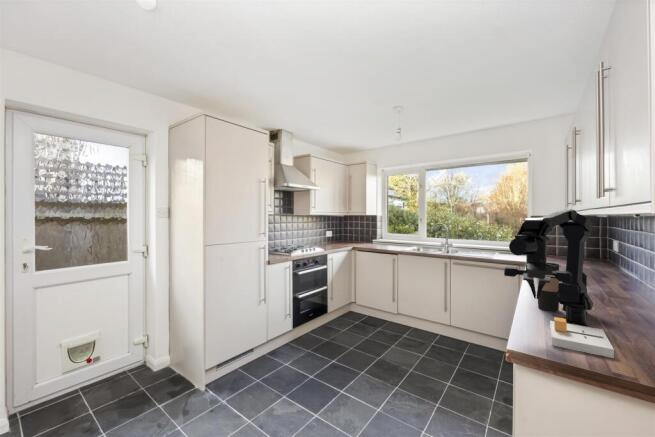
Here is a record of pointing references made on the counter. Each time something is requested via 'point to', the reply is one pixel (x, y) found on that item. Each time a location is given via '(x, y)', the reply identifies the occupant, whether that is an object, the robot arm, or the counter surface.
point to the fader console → (582, 339)
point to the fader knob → (560, 324)
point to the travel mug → (549, 293)
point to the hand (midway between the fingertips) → (536, 298)
